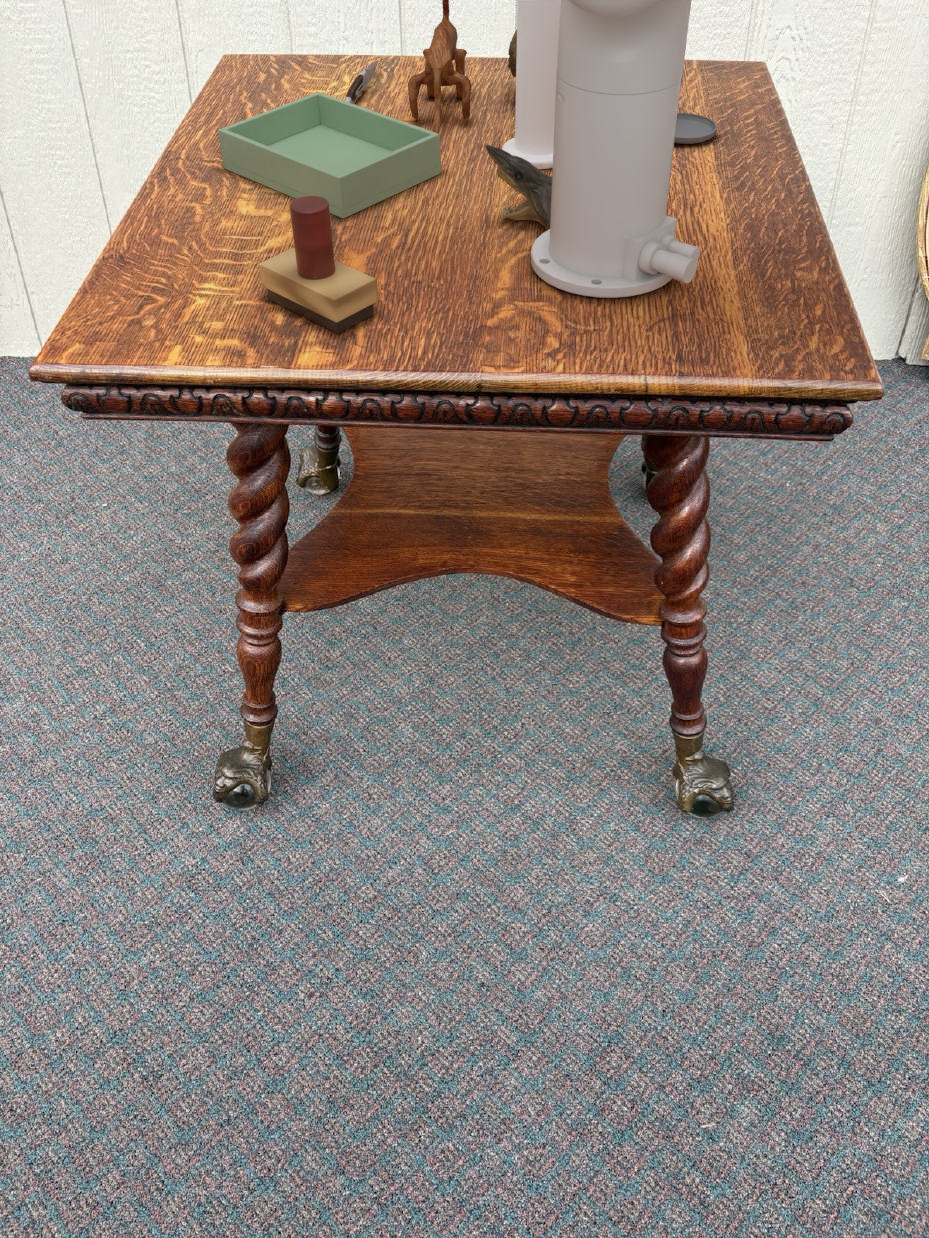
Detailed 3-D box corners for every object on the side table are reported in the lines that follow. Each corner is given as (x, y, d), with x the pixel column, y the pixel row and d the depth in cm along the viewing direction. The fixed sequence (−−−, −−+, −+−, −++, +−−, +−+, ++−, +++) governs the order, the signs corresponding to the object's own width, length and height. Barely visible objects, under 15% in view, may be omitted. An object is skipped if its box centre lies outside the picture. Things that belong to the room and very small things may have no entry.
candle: (561, 174, 111) (576, -127, 94) (492, 165, 113) (494, -132, 95) (580, 146, 116) (597, -145, 98) (513, 138, 117) (518, -150, 100)
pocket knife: (351, 114, 123) (349, 95, 121) (343, 114, 123) (341, 95, 121) (382, 70, 132) (381, 52, 131) (374, 70, 132) (373, 52, 131)
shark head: (480, 235, 102) (480, 159, 97) (489, 204, 106) (490, 130, 102) (569, 240, 101) (573, 164, 96) (575, 209, 105) (579, 134, 101)
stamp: (378, 315, 92) (371, 211, 86) (338, 337, 90) (327, 231, 84) (304, 279, 96) (291, 178, 90) (263, 299, 94) (248, 197, 88)
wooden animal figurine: (466, 152, 115) (465, 4, 105) (401, 151, 115) (394, 3, 106) (478, 88, 128) (477, -50, 118) (419, 87, 128) (414, -50, 119)
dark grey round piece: (714, 150, 115) (729, 43, 108) (630, 144, 116) (639, 39, 109) (717, 119, 120) (732, 16, 113) (638, 114, 122) (647, 12, 115)
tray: (441, 173, 111) (440, 134, 109) (343, 219, 105) (339, 178, 102) (321, 129, 120) (318, 91, 117) (223, 168, 113) (217, 129, 110)
